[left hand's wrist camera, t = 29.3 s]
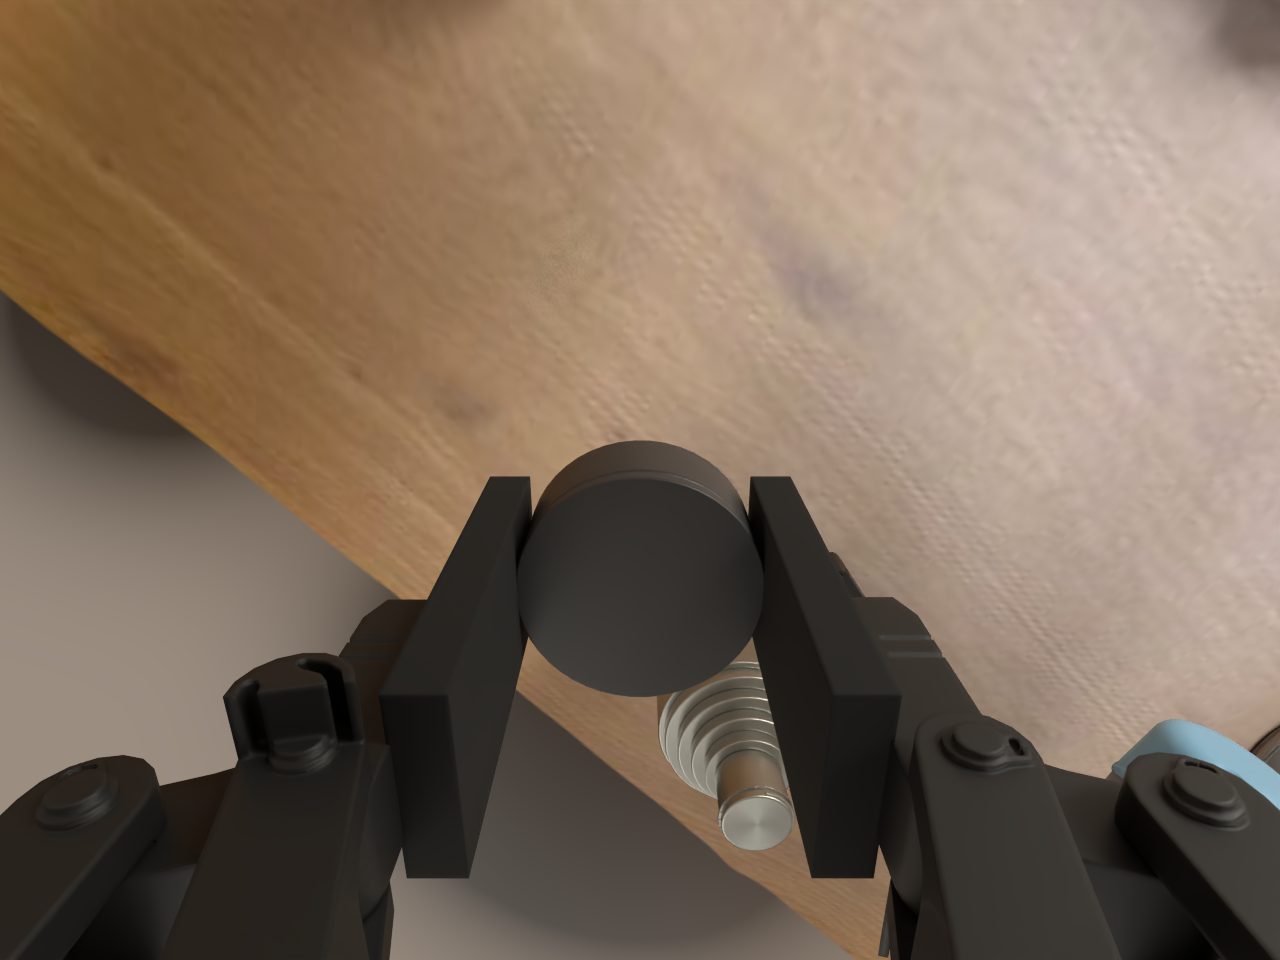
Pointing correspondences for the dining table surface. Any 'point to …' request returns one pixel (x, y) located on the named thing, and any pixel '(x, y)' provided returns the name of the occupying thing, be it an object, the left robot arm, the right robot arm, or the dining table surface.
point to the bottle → (731, 751)
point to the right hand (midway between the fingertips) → (665, 560)
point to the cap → (640, 571)
